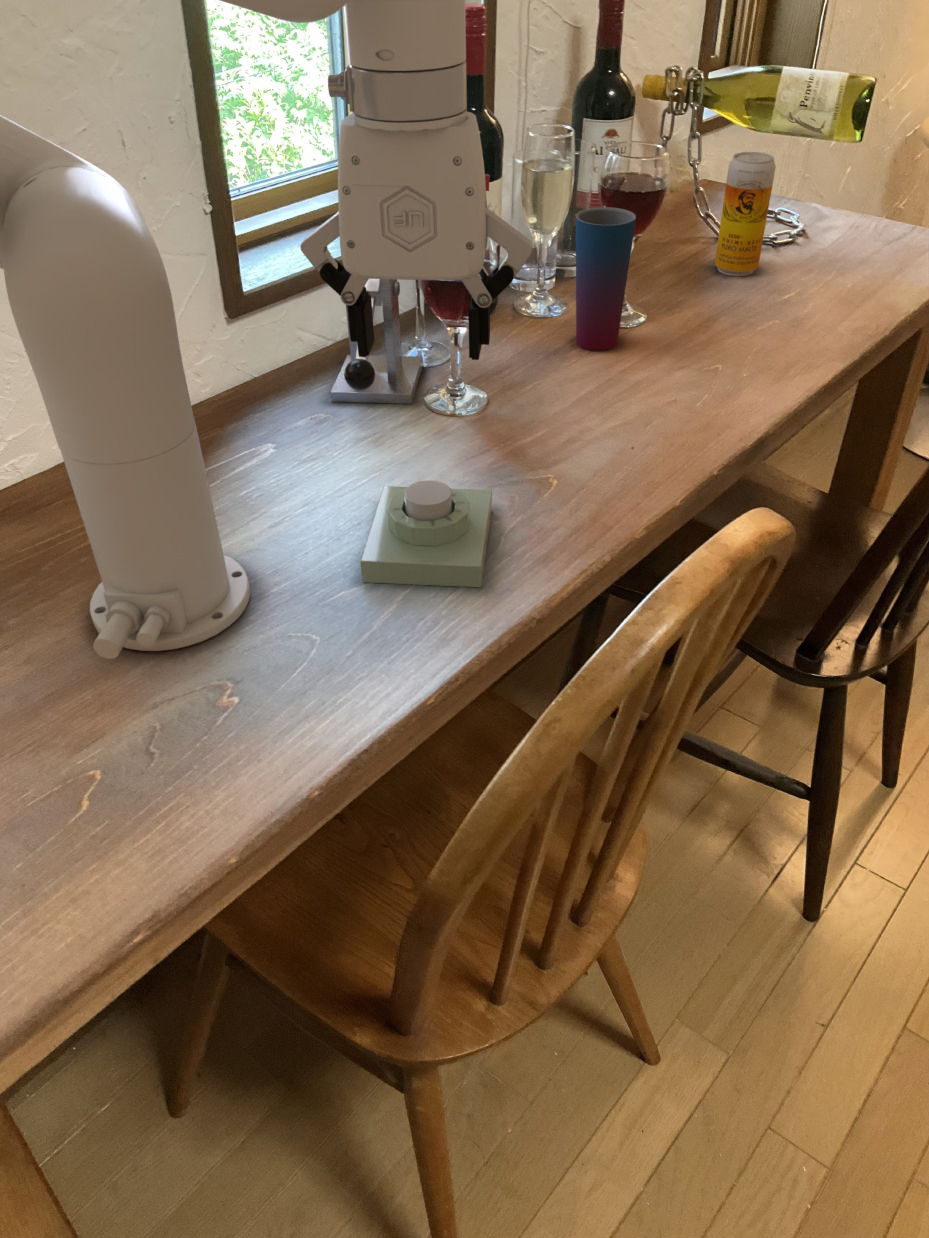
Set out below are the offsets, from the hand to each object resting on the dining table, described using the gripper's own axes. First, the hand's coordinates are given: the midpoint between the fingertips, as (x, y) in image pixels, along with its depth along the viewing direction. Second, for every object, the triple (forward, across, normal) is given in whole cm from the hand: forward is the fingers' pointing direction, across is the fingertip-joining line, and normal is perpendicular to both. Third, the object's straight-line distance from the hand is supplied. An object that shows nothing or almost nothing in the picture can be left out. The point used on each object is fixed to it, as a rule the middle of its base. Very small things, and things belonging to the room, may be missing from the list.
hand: (420, 350), depth 73 cm
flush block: (+18, 0, 0) cm, 18 cm away
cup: (+18, +15, +45) cm, 51 cm away
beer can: (+18, +35, +72) cm, 82 cm away
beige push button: (+14, 0, 0) cm, 14 cm away
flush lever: (+11, -10, +28) cm, 32 cm away
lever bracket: (+18, -10, +32) cm, 38 cm away
